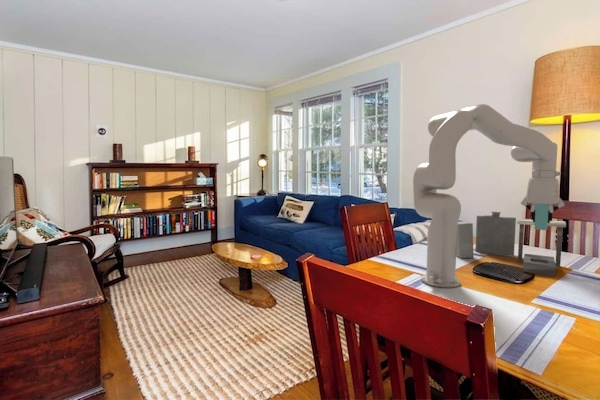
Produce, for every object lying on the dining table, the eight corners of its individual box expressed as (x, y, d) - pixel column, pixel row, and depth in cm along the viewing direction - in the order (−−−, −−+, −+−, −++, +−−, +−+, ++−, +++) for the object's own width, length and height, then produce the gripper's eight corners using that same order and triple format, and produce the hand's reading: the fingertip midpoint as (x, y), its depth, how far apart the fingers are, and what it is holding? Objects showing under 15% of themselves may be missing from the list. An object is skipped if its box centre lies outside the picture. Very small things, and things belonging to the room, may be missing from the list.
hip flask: (513, 254, 158) (516, 212, 156) (514, 256, 154) (516, 213, 152) (475, 250, 166) (477, 210, 164) (475, 252, 162) (476, 211, 160)
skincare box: (473, 258, 152) (475, 223, 150) (457, 258, 152) (459, 223, 150) (465, 253, 160) (466, 220, 159) (449, 253, 160) (451, 220, 159)
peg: (546, 228, 132) (548, 203, 131) (547, 230, 129) (548, 204, 128) (534, 227, 134) (535, 202, 133) (534, 229, 131) (535, 203, 130)
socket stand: (565, 278, 124) (568, 228, 122) (513, 271, 133) (516, 224, 131) (562, 266, 139) (564, 221, 137) (515, 260, 148) (518, 218, 146)
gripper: (570, 174, 128) (567, 222, 130) (518, 174, 137) (516, 219, 139) (572, 175, 122) (569, 225, 124) (517, 175, 131) (515, 221, 133)
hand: (541, 221), depth 131 cm, fingers closed on peg, 4 cm apart
